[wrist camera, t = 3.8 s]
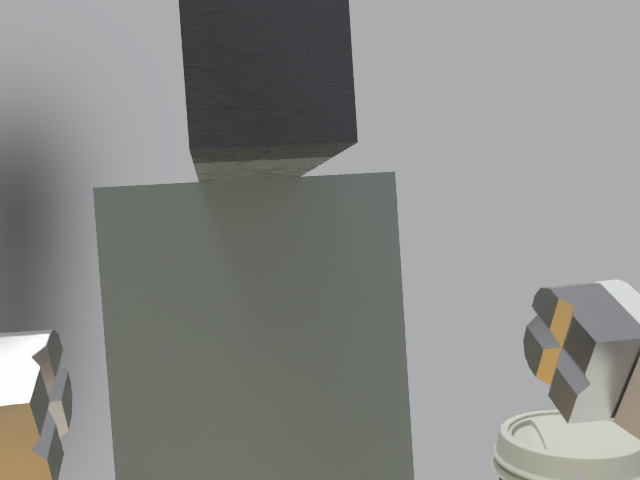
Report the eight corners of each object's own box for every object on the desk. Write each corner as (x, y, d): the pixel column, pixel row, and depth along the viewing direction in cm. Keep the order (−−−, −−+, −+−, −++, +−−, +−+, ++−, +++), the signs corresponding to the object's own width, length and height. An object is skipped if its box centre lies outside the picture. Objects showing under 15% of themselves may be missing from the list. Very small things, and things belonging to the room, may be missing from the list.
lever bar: (357, 142, 15) (347, -25, 15) (189, 149, 14) (176, -26, 14) (268, 195, 38) (264, 131, 38) (204, 199, 38) (199, 134, 38)
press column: (454, 773, 26) (417, 170, 26) (117, 852, 24) (65, 189, 23) (364, 569, 42) (339, 192, 41) (155, 604, 40) (125, 205, 39)
